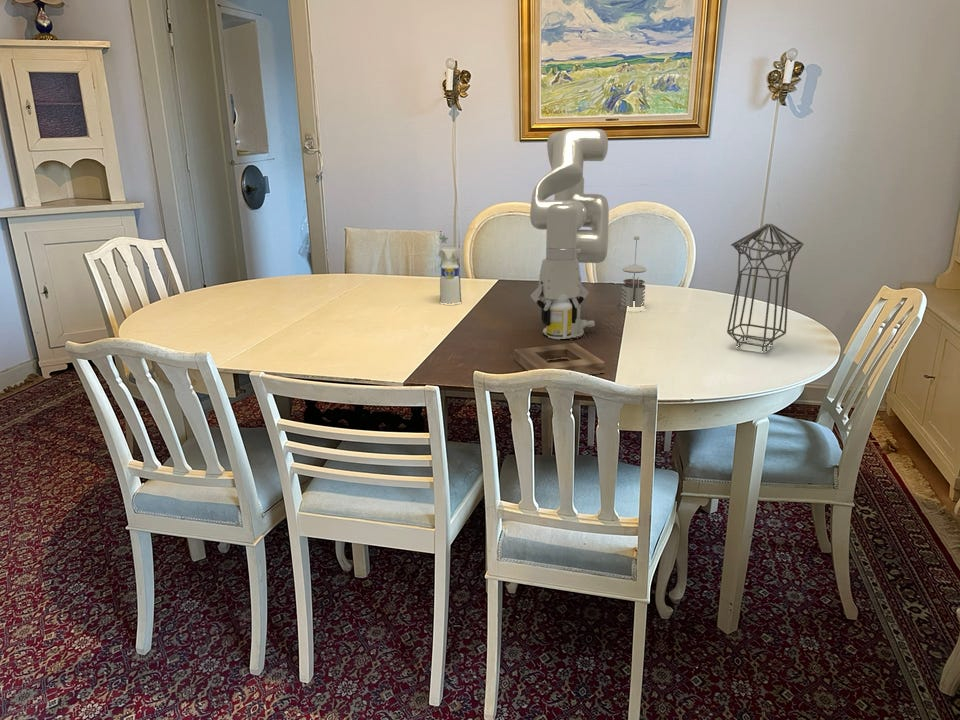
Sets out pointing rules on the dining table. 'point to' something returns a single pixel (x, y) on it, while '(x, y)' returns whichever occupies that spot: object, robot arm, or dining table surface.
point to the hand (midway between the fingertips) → (559, 322)
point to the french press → (633, 285)
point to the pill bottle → (560, 318)
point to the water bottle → (450, 274)
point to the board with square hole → (577, 354)
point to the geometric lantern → (781, 242)
